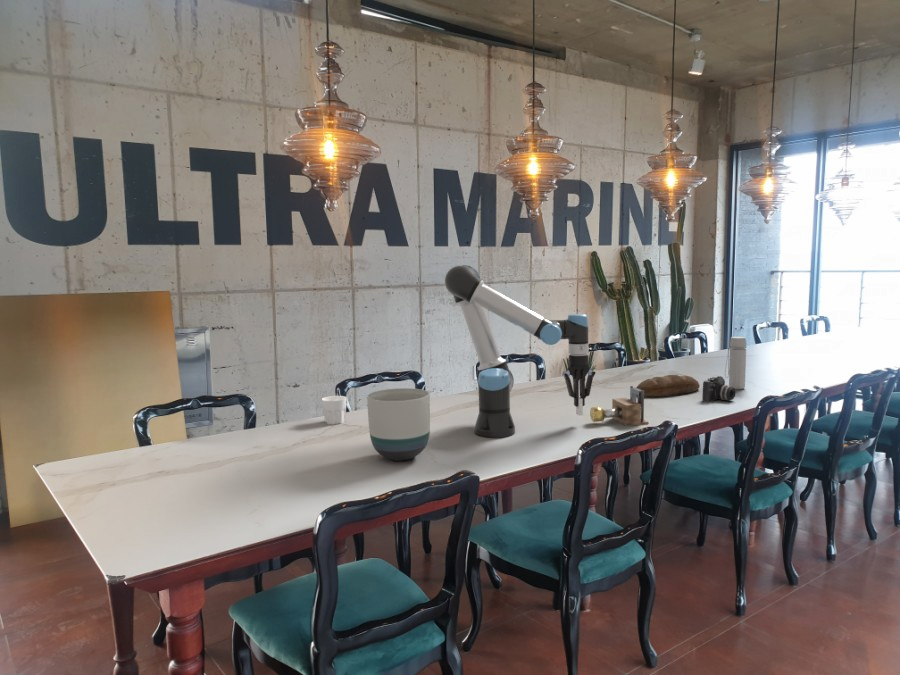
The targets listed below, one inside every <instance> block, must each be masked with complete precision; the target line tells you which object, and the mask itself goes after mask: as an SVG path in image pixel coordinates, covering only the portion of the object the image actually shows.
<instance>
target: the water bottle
mask: <svg viewBox="0 0 900 675" xmlns="http://www.w3.org/2000/svg"><path fill="white" fill-rule="evenodd" d="M746 339H747V337H745V336H731V337H730V341H729V346H728V347H727V355H726V359H727V361H726V363H725V366H727V363H728V374H727V375H728V376H726V373H724V376H725V378H726V379H728V386H731V387H733V388H734V389H735V390H744V389H745V388H746V370H747V369H746V367H747V366H746V365H747V364H746V363H747V340H746ZM726 370H727V367H725V369H724V372H727V371H726Z"/></svg>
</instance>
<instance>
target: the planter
mask: <svg viewBox="0 0 900 675" xmlns="http://www.w3.org/2000/svg"><path fill="white" fill-rule="evenodd" d="M430 395H431V394H430V392H429V391H428V390H425V389H420V388H412V387H411V388H407V387H405V388H403V387H402V388H400V387H399V388H387V389H381V390H377V391H376V390H375V391H373V392H370V393H368V394H367V396H366V397H367V398H366V401H367V416H368V417H367V419H368V428H369V429H368V430H369V431H368V432H369V437H370V441H371V444H372V447H373V448H374V449H375V451H376V452H377V453H378V454H379V455H381V456H382V457H383V458H385V459H387V460H391V461H397V462H398V461H406V460H410V459H411V460H412V459H413V458H415V457H417V456H418V455H420V454H421V452H423V450H424V449H425V448H426V446H427V445H428V442H429V438H430V433H431V399H430V397H431V396H430Z"/></svg>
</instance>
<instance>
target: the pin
mask: <svg viewBox="0 0 900 675" xmlns="http://www.w3.org/2000/svg"><path fill="white" fill-rule="evenodd" d="M589 416H590V420H591V421H592V423H597V422H598V423H599V422H604V420H605V419H607V418H612V417H622V408H621V409H612V408H610V409H604V408H603V407H602V406H595V407H592V406H591V408H590V411H589Z"/></svg>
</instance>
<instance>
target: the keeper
mask: <svg viewBox="0 0 900 675" xmlns="http://www.w3.org/2000/svg"><path fill="white" fill-rule="evenodd" d="M631 400H632V401H635V402H637V403H639V404H641V390H640V389H638V388H636V387H633V388H631Z"/></svg>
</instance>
